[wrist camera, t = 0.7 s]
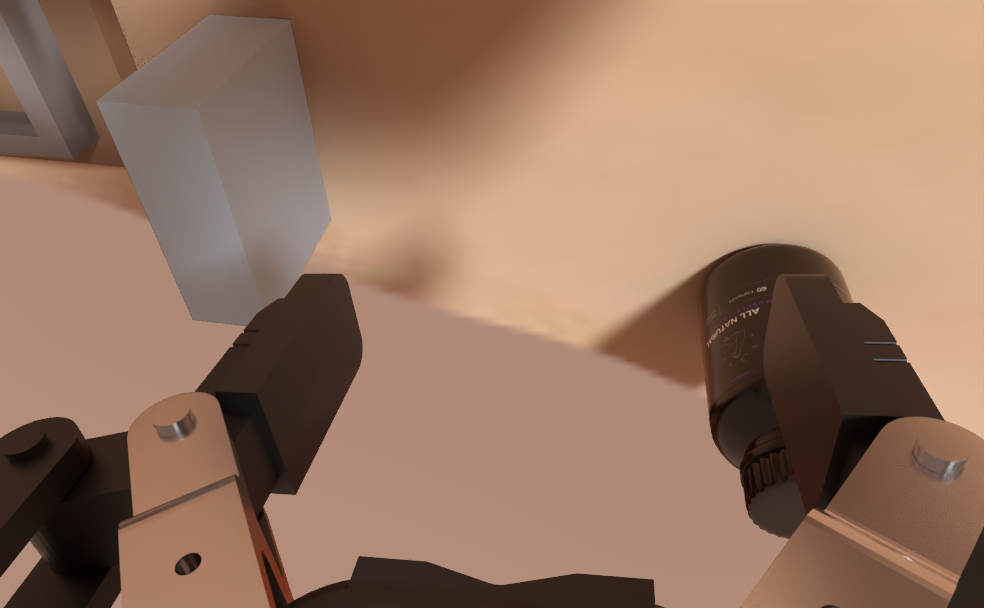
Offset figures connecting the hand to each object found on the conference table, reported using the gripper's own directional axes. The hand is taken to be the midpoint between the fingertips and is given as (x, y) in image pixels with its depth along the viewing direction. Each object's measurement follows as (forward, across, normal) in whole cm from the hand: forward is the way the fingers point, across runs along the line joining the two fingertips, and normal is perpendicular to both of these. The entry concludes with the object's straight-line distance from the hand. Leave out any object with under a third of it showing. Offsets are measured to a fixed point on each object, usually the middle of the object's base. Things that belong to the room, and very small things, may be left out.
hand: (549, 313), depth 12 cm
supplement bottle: (+19, -9, +11) cm, 24 cm away
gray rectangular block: (+17, +14, +2) cm, 22 cm away
